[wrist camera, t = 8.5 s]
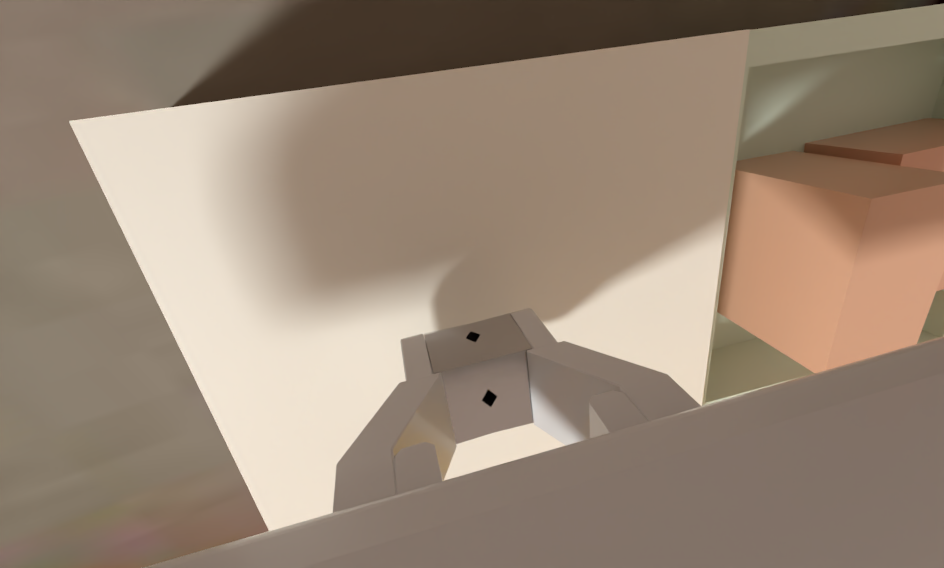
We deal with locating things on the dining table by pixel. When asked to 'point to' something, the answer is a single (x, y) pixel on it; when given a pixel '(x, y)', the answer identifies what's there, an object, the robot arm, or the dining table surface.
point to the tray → (824, 135)
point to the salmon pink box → (891, 147)
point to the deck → (425, 235)
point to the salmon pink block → (832, 255)
